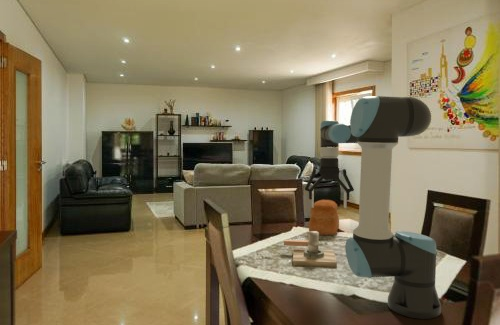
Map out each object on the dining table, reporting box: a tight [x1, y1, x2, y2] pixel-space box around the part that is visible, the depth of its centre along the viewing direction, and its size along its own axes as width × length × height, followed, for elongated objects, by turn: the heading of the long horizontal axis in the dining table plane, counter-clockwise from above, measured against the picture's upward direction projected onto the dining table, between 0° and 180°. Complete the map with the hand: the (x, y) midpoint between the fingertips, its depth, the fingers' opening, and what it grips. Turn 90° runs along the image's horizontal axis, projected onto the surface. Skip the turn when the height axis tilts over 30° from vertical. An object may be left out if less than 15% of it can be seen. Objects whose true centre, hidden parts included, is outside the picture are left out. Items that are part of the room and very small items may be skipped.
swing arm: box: [283, 239, 308, 247], centre depth 175 cm, size 16×4×3 cm, turn 84°
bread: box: [308, 199, 340, 236], centre depth 221 cm, size 16×26×17 cm, turn 163°
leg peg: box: [307, 230, 320, 254], centre depth 166 cm, size 4×4×10 cm
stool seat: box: [292, 248, 338, 268], centre depth 166 cm, size 18×18×4 cm
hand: (328, 207), depth 161 cm, fingers open, 13 cm apart
